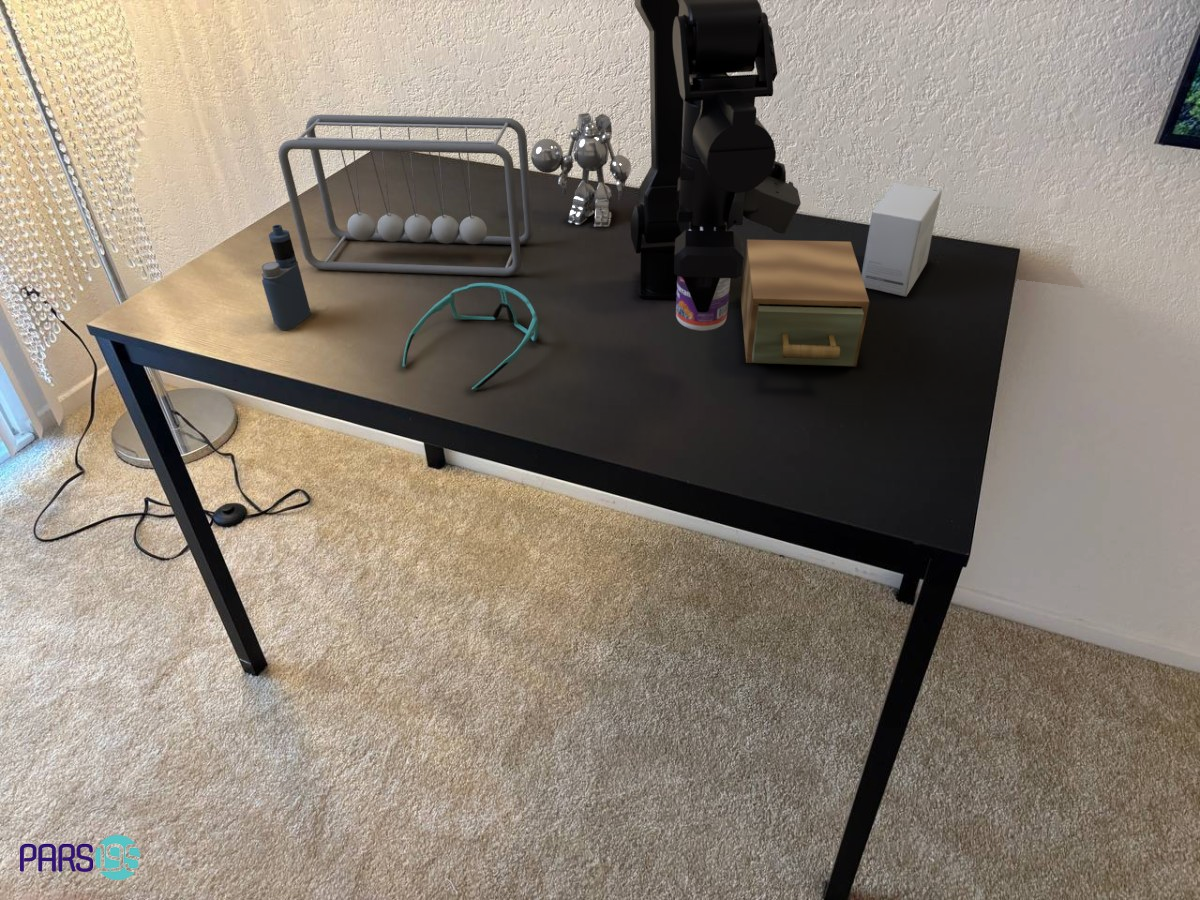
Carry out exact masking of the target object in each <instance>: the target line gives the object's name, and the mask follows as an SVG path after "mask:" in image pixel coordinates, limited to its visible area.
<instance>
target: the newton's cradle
mask: <svg viewBox="0 0 1200 900" xmlns="http://www.w3.org/2000/svg"><path fill="white" fill-rule="evenodd" d="M316 126H321V127H322V126H325V127H326V126H328V127H348V128H347V129H346V130H345V131H344V132H343V133H342V134H341V135H340V136H339V137H317V135H316ZM523 126H524V125H522V124H521V123H520V122H519V121H518V120H516V119H514V118H509V117H472V116H426V115H425V116H422V115H421V116H417V115H415V116H414V115H372V114H371V115H369V114H368V115H365V114H364V115H363V114H361V115H360V114H315V115H313V116H311V117H309V119H308V120H307V122H306V124H305V131H304V132H302V133H301V134H300V135H299V136H298V137H297V138H296V139H287V140H286V141H284V142H283V143H282V144H280V146H279V149H278V160H279V164H280V168H281V172H282V176H283V180H284V184H285V187H286V193H287V196H288V199H289V204H290V207H291V212H292V215H293V219H294V222H295V227H296V231H297V234H298V239H299V242H300V247H301V250H302V254H303V256H304V259H305V261H306V262H307V263H308V264H309V265H310V266H311V267H313V268H315V269H318V270H322V271H344V272H345V271H346V272H373V273H375V272H376V273H377V272H378V273H398V274H399V273H403V274H428V275H429V274H430V275H457V276H481V277H482V276H483V277H511V276H513V275H515V274H516V273H517V272H519V270H520V268H521V266H522V253H521V245H525V244H526V243H528V242H529V241H530V240H531V239H532V237H533V235H534V234H533V233H534V225H533V224H534V223H533V211H532V210H533V209H532V196H531V183H530V182H531V181H530V170H529V169H530V168H529V167H530V166H529V155H528V154H529V153H528V139H527V133H526V130H525V127H523ZM353 127H371V128H372V127H373V128H374V127H377V128H376V129H375V130H374V132H373V133H372V134H371V135H370V136H369V137H368V138H354V134H353V132H354V131H353ZM382 128H406V129H404V130H403V132H402V133H401V135H399V137H398V139H397V138H396V139H394V138H383V137H382V130H381V129H382ZM410 128H425V129H428V128H429V129H434V130H433V131H432V133H431V135H429V137H428V139H411V134H410ZM507 128H509V129H512V130H513V131H514V132H515V133H516V136H517V143H518V144H517V145H518V158H519V159H518V160H519V169H520V171H519V172H520V184H521V195H522V209H523V221H524V232H523V234H522V235H521V236H520V229H519V228H520V227H519V217H518V216H519V215H518V205H517V204H518V203H517V193H516V180H515V168H514V167H515V166H514V161H513V156H512V155H511V153H510V152H509V151H508V149H506V148H505V146H502V145H499V142H500V140H501V139H502V137H503V135H504V133H505V132H506V129H507ZM439 129H464V130H463V131H462V133H461V135H460V136H459V138H458V139H457V140H450V139H449V140H448V139H447V140H444V139H443V140H442V139H441V140H440V139H439V138H440V137H439ZM468 129H471V130H472V129H474V130H475V129H477V130H478V129H480V130H482V129H483V130H500V132H499V133H498V136H497V138H496V139H495V141H494V140H493V141H491V140H489V141H488V140H468ZM349 130H350V134H351V137H350V138H348V137H343V135H345V134H346V133H347V132H348V131H349ZM377 131H379V137H380V138H372V137H373V135H374V134H375V133H376V132H377ZM405 132H407V134H408V135H407V136H408V139H401V138H402V136H403V135H404V134H405ZM435 132H436V137H437V139H431V137H432V136H433V135H434V133H435ZM464 133H465V140H460V139H461V137H462V136H463V134H464ZM291 150H309V151H310V155H311V159H312V163H313V168H314V172H315V176H316V180H317V185H318V189H319V194H320V197H321V202H322V207H323V210H324V215H325V219H326V223H327V226H328V229H329V231H330V232H331V233H332V234H333V235H334V236H336V237H337V238H339V239H340V240H339V242H338V243H337V245H336V246H335V247H334V248H333V250H332V251H331V252H330V254H329V255H328V256H327V257H326V259H325V260H324V261H323V260H320V259H318V258H316V257H315V256H314V254H313V251H312V247H311V243H310V240H309V235H308V231H307V227H306V223H305V219H304V216H303V213H302V208H301V204H300V200H299V199H300V198H299V196H298V192H297V187H296V184H295V180H294V179H295V178H294V175H293V172H292V168H291V163H290V160H289V152H290V151H291ZM320 151H340V152H341V156H342V157H341V158H342V161H343V164H344V169H345V172H346V175H347V179H348V183H349V188H350V191H351V194H352V199H353V203H354V205H355V206H354V207H355V210H356V213H354V214H351V216H350V217H349V219H348V220H347V231H345V230H342V229H340V228H339V227H338V225H337V223H336V219H335V214H334V210H333V205H332V201H331V197H330V193H329V188H328V184H327V180H326V179H327V178H326V175H325V170H324V165H323V162H322V157H321V153H320ZM343 151H352V154H353V164H354V173H355V182H356V183H355V185H356V192H357V202H356V198H355V195H354V191H353V186H352V183H351V179H350V174H349V172H348V171H349V170H348V168H347V164H346V160H345V156H344V152H343ZM356 151H359V152H361V151H362V152H370V156H371V161H372V163H373V167H374V170H375V174H376V178H377V182H378V186H379V189H380V193H381V197H382V200H383V204H384V208H385V212H386V213H385V214H384V215H382V216H381V217H380V218H379V220H378V222H377V225H376V223H375V221H374V219H373V218H372V216H370V215H369V214H367V213H365V212H362V211H361V203H360V202H361V201H360V193H359V182H358V173H357V172H358V171H357V163H356V153H355V152H356ZM373 152H381V155H382V165H383V173H384V181H385V191H386V199H387V203H386V201H385V200H386V199H385V197H384V193H383V189H382V185H381V182H380V178H379V174H378V170H377V167H376V163H375V159H374V155H373ZM384 152H399V156H400V159H401V164H402V168H403V173H404V176H405V180H406V185H407V189H408V194H409V198H410V202H411V206H412V210H413V215H410V216H409V217H408V218H407V219H406V221H405V222H404V220H403V219H402V217H400V215H397V214H395V213H391V208H390V199H389V190H388V183H387V172H386V165H385V155H384ZM402 152H405V153H410V165H411V175H412V184H413V194H414V202H413V198H412V194H411V193H412V192H411V189H410V185H409V181H408V177H407V172H406V168H405V164H404V160H403V156H402ZM412 153H428V155H429V159H430V165H431V169H432V174H433V179H434V183H435V188H436V192H437V193H436V194H437V197H438V202H439V207H440V212H441V215H440V216H438V217H436V218H435V219H434V221H433V222H432V223H431V220H430V219H429V218H427V217H426V216H425V215H423V214H419V213H418V204H417V196H416V195H417V193H416V186H415V185H416V184H415V175H414V174H415V173H414V165H413V154H412ZM431 153H438V163H439V173H440V183H441V184H440V187H441V196H442V203H441V198H440V193H439V187H438V183H437V178H436V174H435V173H436V172H435V168H434V163H433V160H432V159H433V158H432V154H431ZM441 153H445V154H446V153H449V154H458V157H459V163H460V169H461V175H462V180H463V186H464V191H465V196H466V201H467V208H468V213H469V216H467V217H465V218H464V219H463V220H461V222H460V224H459V223H458V221H457V220H456V219H455V218H454V217H452V216H450V215H446V213H445V212H446V209H445V198H444V187H443V186H444V185H443V174H442V164H441V163H442V161H441ZM461 154H466V156H467V170H468V185H469V197H468V190H467V185H466V180H465V174H464V169H463V164H462V157H461ZM469 154H489V155H490V154H491V155H492V154H493V155H497V156H498V157H500V158H501V159H502V161H503V166H504V178H505V189H506V199H507V200H506V202H507V212H508V222H509V224H508V225H509V233H510V236H501V235H500V236H499V235H498V236H497V235H487V233H488V229H487V225H486V223H485V222H484V220H483V219H482V218H480V217H478V216H475V215H474V214H473V213H474V212H473V200H472V185H471V172H470V156H469ZM469 198H470V199H469ZM469 201H470V202H469ZM357 203H358V206H357ZM414 203H415V204H414ZM386 204H387V205H386ZM414 205H415V206H414ZM376 228H377V229H376ZM376 230H377V232H376ZM345 240H351V241H360V242H361V241H362V242H364V241H379V242H380V241H381V242H390V243H393V242H410V243H413V242H414V243H417V244H419V243H438V244H439V243H441V244H469V245H477V244H478V245H503V246H511V252H510V254H509V257H508V260H507V261H506V265H505V266H504V267H495V266H494V267H492V266H490V267H489V266H466V265H465V266H463V265H462V266H461V265H435V264H434V265H433V264H408V263H407V264H404V263H380V262H379V263H378V262H376V263H375V262H351V261H350V262H349V261H330V260H331V259H332V258H333V256H335V253H336V252H337V251H338V249H339V248H340V247H341V246H342V244H343V243H344V241H345ZM511 262H512V263H511Z"/></svg>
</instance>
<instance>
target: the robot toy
mask: <svg viewBox="0 0 1200 900" xmlns="http://www.w3.org/2000/svg"><path fill="white" fill-rule="evenodd" d="M577 117H578V118H577V120H576V124H577V125H576V127H575V128H573V129H571V130H570V132H569V136H570V138H571V140H570V143H569V148H568V151H567V154H565V155H564V151H563V148H562V146H561V145H560V144H559V143H558V142H557V141H556V140H554V139H551V138H542V139H540V140H538V141H536V142H535V144H534V145H533V146H532V148H531V152H530V160H531V163H532V165H533V166H534V168H535V169H537V170H538V171H539V172H541V173H545V174H551V173H554V172H556V171H557V170H558V169H560V170H561V172H560V173H559V176H558V183H557V185H558V186H559V187H560V191H561V193H562V194H563V195H565V196H566V195H567V179H568V177H569V173H570V172H571V171H572V169H573V167H574V162H575V163H577V165H578V166H579V167H580V168H582V175H581V181H580V182H579V184H578V185H577V187H576V189H575V191H574V194H573V198H572V206H571V209H570V211H569V213H568V220H567V222H568V223H569V224H573V225H577V226H580V225H582V224H583V223H585V222H586V221H587V220H588V218H589V217H591V216H593V215H594V224H593V227H594V228H600V227H601V228H602V227H603V228H607V227H610V224H611V222H612V212H611V211H610V205H611V202H612V201H613V196H612V195H613V194H612V190H611V188H610V187H609V186H608V185H606V184H605V175H604V169H603V168H604V166H605V165H607V163H608V161H609V156H610V163H609V172H611V175H612V177H613V179H614V180H615V183H616V185H615V186H616V188H617V191H618V193H617V194H618V197H617V198H618V200H617V201H622V200H623V196H624V193H625V189H626V181H628V178H629V177H630V175H631V173H632V172H631V171H632V164H631V163H632V162H631V161H630V160H629V159H628V158H627V157H626V156H625V155H622V154H616V155H615V153H614V149H613V145H612V142H611V140H612V138H613V136H612V135H613V127H612V126H613V125H612V122H611V119H610V116H608V115H606V114H604V113H600V114H599V115H597V116H596V117H594V116H593V115H592V116H591V114H590V113H589V112H585V113H579V114H578V115H577ZM594 118H595V119H594ZM594 121H595V122H594ZM572 155H573V156H572ZM590 172H596V179H597V187H596V188H595V189H594V187H593V186H592V185H591V184H589V179H590ZM593 201H594V210H593V209H592V208H591V206H590V205H591V204H592V202H593Z"/></svg>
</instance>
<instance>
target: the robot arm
mask: <svg viewBox="0 0 1200 900" xmlns="http://www.w3.org/2000/svg"><path fill="white" fill-rule="evenodd" d="M634 6H635V9H636V11H637V12H638V14H639V16H640V18H641V19H642V21H643V23H644V25H645V27H646V28H647V30H648V35H649V37H648V38H649V39H648V43H649V99H650V100H649V102H650V106H649V107H650V160H651V161H650V162H651V163H650V168H649V170H648V171H647V173H646V175H645V176H644V178H643V180H642V181H641V184H640V186H639V188H638V204H636V205H634V208H633V211H632V215H631V218H630V224H629V225H630V239H631V242H632V246H633V248H634V252H635V254H640V268H639V269H640V270H639V271H640V272H639V273H640V275H639V276H640V278H639V285H638V298H640V299H660V300H661V299H663V300H666V299H667V300H677V279H678V276H679V277H683V280H684V282H685V284H686V286H687V288H688V291H689V293H690V295H691V298H692V300H693V303H694V305H695V307H696V310H697V312H703V313H706V312H708V311H709V308H710V305H711V302H712V300H713V297H714V294H715V291H716V288H717V285H718V283H719V280H720V278H730V279H738V278H740V277H743V270H744V260H745V256H744V255H745V254H744V246H743V240H742V239H741V237H740V236H738V235H737V234H736V233H735V232H734V231H733V230H730V229H731V228H732V227H733V226H743V220H744V218H745V219H747V220H749V221H751V222H754V223H756V224H758V225H759V224H760V225H762V226H764V227H768V228H769V229H771V230H772V231H773V232H775V233H778V234H786V233H787V232H788V229H789V227H790V225H791V223H792V221H793V220H794V218H795V215H796V214H797V212H798V210H799V208H800V206H801V204H802V202H801V198H800V192H799V190H798V188H797V187H795V186H794V182H793V181H788V182H787V170H786V166H785V164H784V163H781V162H779V161H776V157H777V151H776V147H775V143H774V139H773V138H772V136H771V134H770V133H769V131H768V130H767V128H765V126H764V125H763V124H762V122H761V121H760V120H759V118H758V117H757V107H756V106H755V104H756V98H764V97H765V98H766V97H767V98H768V97H773V95H774V82H775V80H776V78H777V76H778V67H777V60H776V58H777V57H776V52H775V43H774V39H773V38H774V37H773V30H772V27H771V26H770V24H769V17H768V15H767V13H766V12H764V11H763V9H762V6H761V3H760V1H759V0H634ZM755 69H756V74H755V73H753V74H736V75H735V73H751V72H753V71H754V70H755ZM733 73H734V75H729V74H733ZM700 227H703V231H700ZM714 227H716V231H714ZM689 229H690V230H689Z"/></svg>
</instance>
